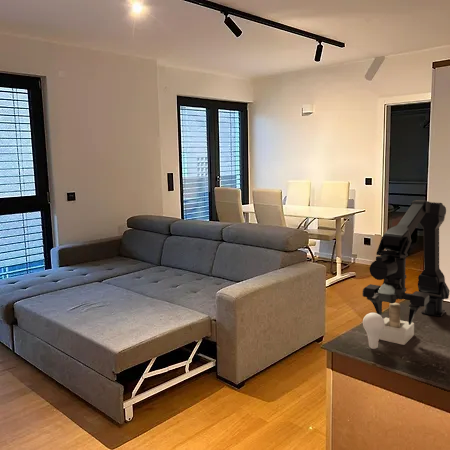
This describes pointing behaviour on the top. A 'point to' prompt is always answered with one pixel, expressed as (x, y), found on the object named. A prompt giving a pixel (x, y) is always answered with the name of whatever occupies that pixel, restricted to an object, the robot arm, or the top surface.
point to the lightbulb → (373, 328)
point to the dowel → (394, 315)
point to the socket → (397, 332)
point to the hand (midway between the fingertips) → (394, 321)
